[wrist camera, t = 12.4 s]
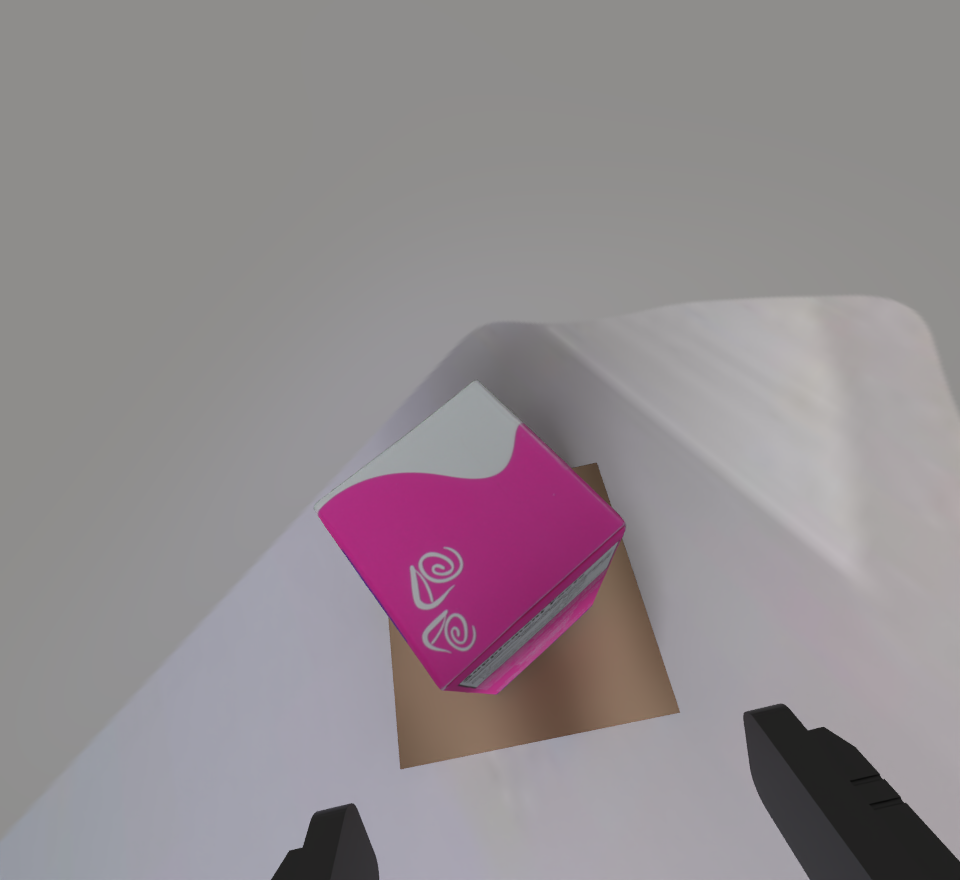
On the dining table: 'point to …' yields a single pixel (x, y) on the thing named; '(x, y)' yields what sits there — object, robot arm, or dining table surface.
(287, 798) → the dining table surface
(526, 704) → the walnut block
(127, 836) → the dining table surface
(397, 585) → the supplement box
